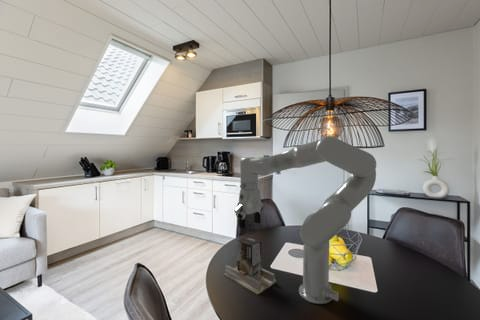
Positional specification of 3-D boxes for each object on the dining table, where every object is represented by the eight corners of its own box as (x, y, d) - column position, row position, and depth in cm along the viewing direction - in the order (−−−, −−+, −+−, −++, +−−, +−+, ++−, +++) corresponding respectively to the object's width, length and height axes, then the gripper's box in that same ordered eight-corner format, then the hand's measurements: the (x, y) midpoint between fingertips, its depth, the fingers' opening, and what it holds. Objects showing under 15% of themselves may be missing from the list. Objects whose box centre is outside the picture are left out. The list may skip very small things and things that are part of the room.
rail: (242, 266, 116) (242, 256, 115) (276, 282, 102) (276, 271, 101) (223, 275, 107) (223, 265, 107) (257, 294, 93) (257, 282, 93)
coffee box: (262, 277, 103) (262, 241, 103) (252, 283, 99) (252, 245, 98) (246, 270, 110) (246, 235, 109) (236, 275, 105) (236, 239, 104)
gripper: (241, 189, 94) (242, 232, 94) (268, 184, 106) (269, 222, 107) (228, 187, 99) (229, 228, 100) (255, 183, 111) (256, 219, 112)
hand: (250, 225), depth 103 cm, fingers open, 9 cm apart
